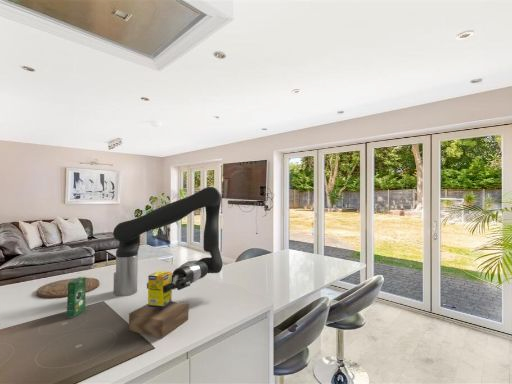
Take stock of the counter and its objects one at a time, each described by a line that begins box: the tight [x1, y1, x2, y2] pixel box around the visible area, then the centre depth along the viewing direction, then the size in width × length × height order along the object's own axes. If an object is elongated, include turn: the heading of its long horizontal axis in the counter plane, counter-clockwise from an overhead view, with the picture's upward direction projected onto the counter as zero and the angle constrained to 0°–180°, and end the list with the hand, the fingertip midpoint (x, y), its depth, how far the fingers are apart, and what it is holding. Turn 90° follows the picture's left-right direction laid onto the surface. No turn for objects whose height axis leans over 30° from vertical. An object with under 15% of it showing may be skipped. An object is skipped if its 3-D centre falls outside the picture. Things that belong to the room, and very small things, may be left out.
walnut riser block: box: [128, 300, 189, 339], centre depth 96 cm, size 14×14×6 cm
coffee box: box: [66, 276, 87, 319], centre depth 104 cm, size 8×3×13 cm, turn 6°
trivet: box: [36, 277, 100, 299], centre depth 131 cm, size 25×25×2 cm
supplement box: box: [147, 270, 173, 308], centre depth 96 cm, size 6×6×11 cm
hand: (155, 287), depth 94 cm, fingers closed on supplement box, 7 cm apart
